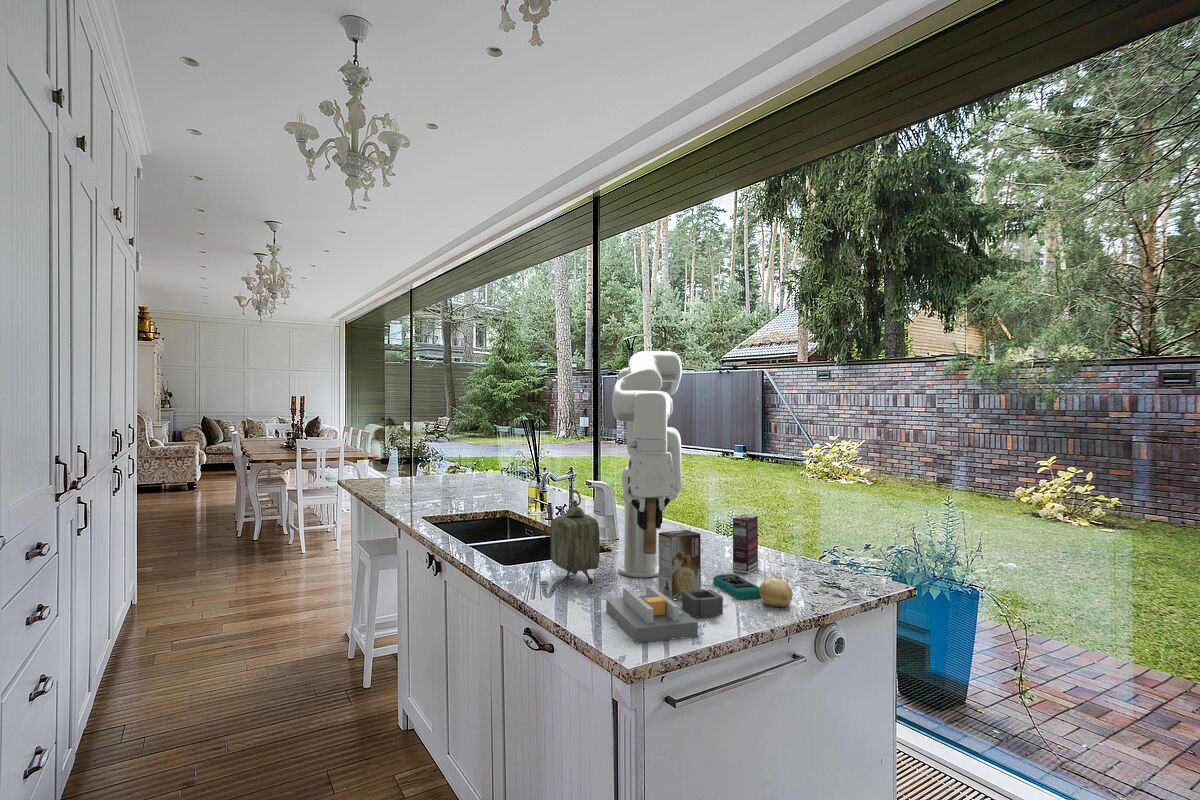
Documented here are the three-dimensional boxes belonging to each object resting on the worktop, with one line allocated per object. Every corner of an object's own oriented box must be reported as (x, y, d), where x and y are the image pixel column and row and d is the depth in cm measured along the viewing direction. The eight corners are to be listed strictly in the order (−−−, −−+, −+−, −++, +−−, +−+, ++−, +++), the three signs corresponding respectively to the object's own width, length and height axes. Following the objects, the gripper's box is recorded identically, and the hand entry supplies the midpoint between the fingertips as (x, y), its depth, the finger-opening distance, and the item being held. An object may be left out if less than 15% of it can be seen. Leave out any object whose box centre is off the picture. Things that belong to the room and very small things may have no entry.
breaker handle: (643, 611, 136) (643, 598, 136) (660, 610, 137) (660, 596, 137) (648, 616, 133) (648, 602, 133) (665, 614, 134) (665, 600, 135)
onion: (799, 608, 149) (799, 579, 149) (770, 611, 147) (770, 581, 147) (780, 598, 157) (780, 570, 157) (753, 600, 155) (753, 572, 155)
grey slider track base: (606, 611, 145) (606, 586, 146) (661, 606, 150) (661, 581, 150) (635, 643, 126) (635, 613, 126) (697, 636, 130) (697, 607, 130)
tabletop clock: (599, 585, 167) (600, 492, 167) (568, 589, 163) (569, 494, 163) (577, 572, 180) (578, 486, 180) (548, 575, 176) (549, 488, 176)
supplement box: (743, 565, 188) (743, 513, 188) (758, 568, 185) (758, 515, 186) (731, 571, 181) (732, 517, 181) (747, 574, 178) (747, 519, 179)
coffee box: (686, 589, 164) (687, 528, 164) (701, 596, 158) (701, 533, 158) (657, 594, 159) (658, 532, 159) (671, 601, 154) (672, 536, 154)
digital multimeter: (735, 583, 171) (735, 572, 171) (763, 599, 157) (763, 587, 157) (711, 585, 169) (711, 574, 169) (737, 601, 155) (737, 590, 155)
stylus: (641, 551, 140) (642, 489, 139) (653, 550, 140) (653, 489, 140) (646, 554, 137) (646, 491, 137) (657, 553, 138) (658, 490, 138)
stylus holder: (680, 607, 149) (680, 591, 149) (709, 605, 151) (709, 588, 151) (694, 618, 141) (694, 600, 141) (724, 615, 144) (724, 598, 144)
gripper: (621, 448, 133) (620, 533, 133) (690, 447, 137) (689, 529, 138) (610, 445, 140) (610, 526, 140) (676, 444, 144) (676, 522, 145)
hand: (649, 527), depth 139 cm, fingers closed on stylus, 2 cm apart
